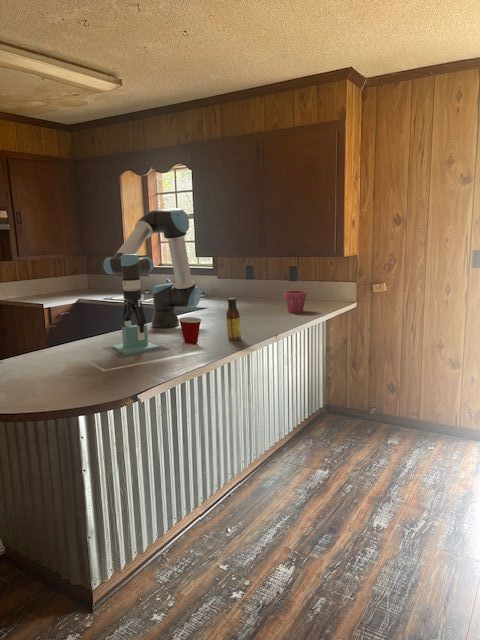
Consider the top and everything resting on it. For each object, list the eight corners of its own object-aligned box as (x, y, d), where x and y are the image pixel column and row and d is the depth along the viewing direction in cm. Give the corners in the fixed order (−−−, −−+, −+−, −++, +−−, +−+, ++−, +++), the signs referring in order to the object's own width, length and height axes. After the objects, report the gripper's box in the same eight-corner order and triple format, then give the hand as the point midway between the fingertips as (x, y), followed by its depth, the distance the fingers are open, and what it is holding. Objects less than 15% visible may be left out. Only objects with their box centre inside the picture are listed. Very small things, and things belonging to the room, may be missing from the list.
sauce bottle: (242, 338, 236) (241, 297, 232) (238, 341, 230) (237, 299, 226) (230, 337, 238) (228, 297, 234) (225, 340, 232) (224, 299, 229)
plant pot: (282, 310, 314) (281, 290, 311) (303, 309, 315) (303, 289, 313) (286, 314, 300) (286, 293, 297) (309, 313, 301) (309, 292, 299)
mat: (102, 349, 221) (102, 347, 221) (147, 342, 234) (147, 340, 234) (123, 359, 202) (122, 357, 202) (170, 351, 215) (170, 349, 215)
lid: (112, 348, 220) (110, 325, 218) (144, 342, 229) (143, 321, 227) (126, 354, 207) (124, 331, 205) (160, 348, 216) (158, 326, 214)
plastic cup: (199, 346, 221) (198, 320, 219) (176, 346, 223) (175, 320, 221) (205, 341, 232) (204, 316, 229) (184, 341, 234) (182, 316, 232)
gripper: (113, 288, 221) (116, 334, 225) (135, 292, 201) (138, 343, 205) (128, 286, 225) (131, 332, 229) (152, 291, 205) (155, 340, 209)
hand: (135, 337), depth 217 cm, fingers open, 13 cm apart
